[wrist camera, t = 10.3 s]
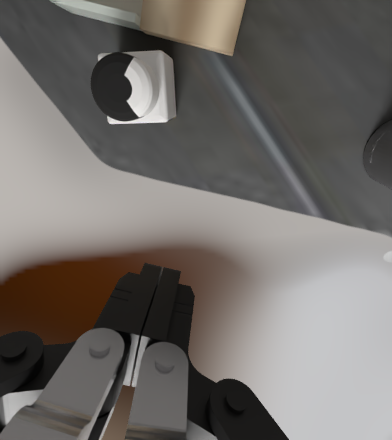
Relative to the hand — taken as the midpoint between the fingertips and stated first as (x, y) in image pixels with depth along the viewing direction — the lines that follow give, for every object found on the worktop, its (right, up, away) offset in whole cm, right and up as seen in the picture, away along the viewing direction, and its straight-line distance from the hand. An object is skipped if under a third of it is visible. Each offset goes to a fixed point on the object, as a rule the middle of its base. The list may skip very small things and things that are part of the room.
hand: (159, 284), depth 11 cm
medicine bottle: (-5, +20, +26) cm, 33 cm away
